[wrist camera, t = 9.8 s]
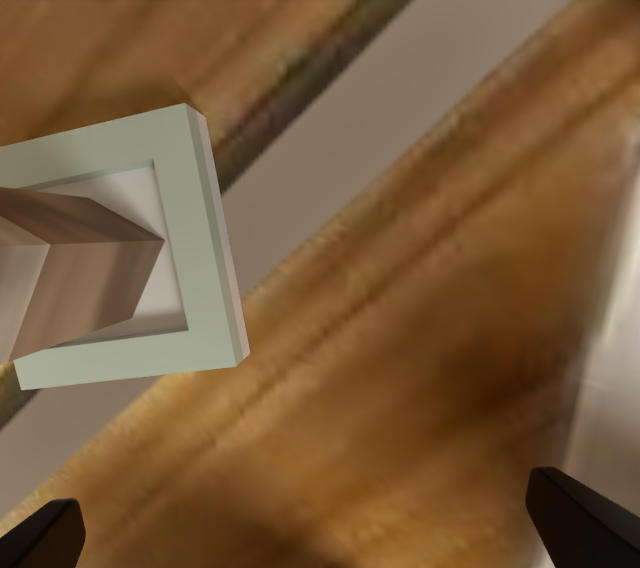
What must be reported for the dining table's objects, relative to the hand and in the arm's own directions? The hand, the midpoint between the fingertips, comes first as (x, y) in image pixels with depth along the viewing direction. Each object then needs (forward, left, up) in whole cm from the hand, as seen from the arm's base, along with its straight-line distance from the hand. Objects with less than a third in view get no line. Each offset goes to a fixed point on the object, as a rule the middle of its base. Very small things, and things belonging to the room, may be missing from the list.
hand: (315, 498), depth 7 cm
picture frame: (+6, +11, -11) cm, 17 cm away
